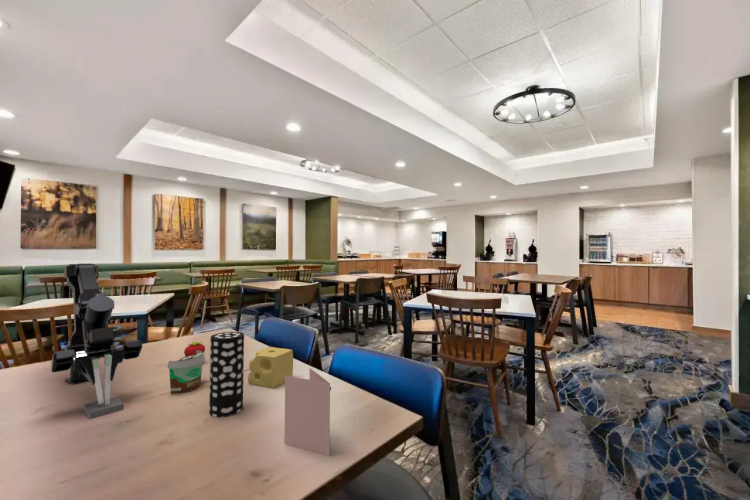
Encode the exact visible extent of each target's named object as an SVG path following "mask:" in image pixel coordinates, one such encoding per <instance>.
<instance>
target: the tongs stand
mask: <svg viewBox="0 0 750 500" xmlns="http://www.w3.org/2000/svg"><path fill="white" fill-rule="evenodd" d="M103 365H104V382H103V384H104V385H103V401H104V404H101V405H98V402H97V401H93V402H90V403H86V404H84V405H83V411H84V414H86V416H87V418H88V420H91V419H95V418H97V417H102V416H104V415H105V416H106V415H108V414H113V413H115V412H119V411H123V410H124V403H123V401H122V400H121V399H120V398H119V397H118V396H114V397H111V381H110V375H111V365H112V355H111V354H104V358H103Z"/></svg>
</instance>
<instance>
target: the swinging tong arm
mask: <svg viewBox="0 0 750 500" xmlns="http://www.w3.org/2000/svg"><path fill="white" fill-rule="evenodd" d="M90 359H91V365H92V369H93V372H94V376H95V385H94V387H95V392H96V400H97V401H96V402H98V405H101V404H104V401H103V400H104V394H103V388H102V383H101V382H102V381H101V375H100V363H99V359H98V358H97V357H96V356H95V357H92V358H90Z"/></svg>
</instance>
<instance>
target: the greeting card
mask: <svg viewBox="0 0 750 500" xmlns="http://www.w3.org/2000/svg"><path fill="white" fill-rule="evenodd" d="M284 383H285V384H284V386H285V387H284V438H283V439H284V441H283V444H284V445H289V446H291V447H295V448H299V449H302V450H303V449H304V450H306V451H309V452H314V453H317V454H321V455H324V456H328V457H329V456H330V433H331V431H330V428H331V425H330V423H331V416H330V415H331V391H332V390H331V389H332V387H331V383H330V382H329V381H328V380H326V379H325V378H324V377H322V376H321V375H320V374H319V373H317V372H316V371H315V370H314V369H312V368H311V367H309V379H308V378H303V377H297V376H296V377H295V376H292V377H291V376H285V382H284Z"/></svg>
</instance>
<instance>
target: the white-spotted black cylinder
mask: <svg viewBox="0 0 750 500" xmlns="http://www.w3.org/2000/svg"><path fill="white" fill-rule="evenodd" d="M209 343H210V348H209V349H210V352H209V354H210V356H209V357H210V360H209V402H208V403H209V405H208V406H209V407H208V408H209V409H208V410H209V411H208V412H209V415H210V416H212V417H215V418H225V417H230V416H233V415H236V414H238V413H240V412H241V411H242V410H243V408H244V378H245V377H244V375H245V374H244V372H245V371H244V370H245V368H244V366H245V365H244V363H245V360H244V359H245V333H244V332H240V331H226V332H225V331H224V332H219V333H215V334H212V335H210V342H209Z"/></svg>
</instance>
